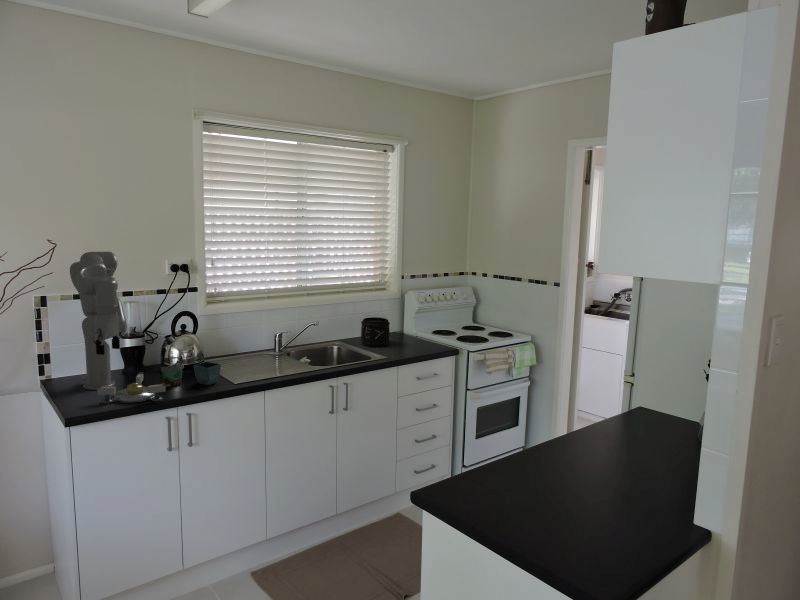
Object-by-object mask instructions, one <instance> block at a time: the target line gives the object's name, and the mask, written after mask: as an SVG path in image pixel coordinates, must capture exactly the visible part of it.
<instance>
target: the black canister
mask: <svg viewBox="0 0 800 600" xmlns="http://www.w3.org/2000/svg"><path fill="white" fill-rule="evenodd" d="M360 323H361V329H360V337H361V338H360V342H361V344H362V345H363V346H364V347H366V348H367V347H368V348H384V347H387V346H389V343H390V331H391V330H390V324H391V322H390V321H389V319H387V318H385V317H378V316H377V317H374V316H373V317H365V318H363V319H362V321H361V322H360Z"/></svg>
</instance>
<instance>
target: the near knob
mask: <svg viewBox="0 0 800 600" xmlns="http://www.w3.org/2000/svg"><path fill="white" fill-rule="evenodd" d="M97 389H98V390H97V395H98V396H99V395H100V396H101V395H102V396H103V395H104V399H105V400H109V398H110V395H113V396H114V394H116V392H117V387H116V386H112V387H102V386H98V388H97Z"/></svg>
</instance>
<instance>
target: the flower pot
mask: <svg viewBox="0 0 800 600" xmlns="http://www.w3.org/2000/svg"><path fill="white" fill-rule="evenodd" d="M221 367H222V363H218V362H212V361H204V362H203V361H202V362H201V363H198V364H195V365H193V371H194V375H195V378H196V381H197V382H198V383H199V384H200V385H205V386H210V385H213V384H215V383H216V382H217V381H218V379H219V377H220V374H221Z"/></svg>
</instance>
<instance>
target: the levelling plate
mask: <svg viewBox="0 0 800 600" xmlns="http://www.w3.org/2000/svg"><path fill="white" fill-rule="evenodd" d="M146 400H148V401H151V400H152V401H155V402H154V403H159V402H158V401H160V402H162V400H163V401H164V397H163V396H161V395H159V398H155V393H150V394H149V393H148V386H145V385H143V383H142V384H138V383H136V382H132V383H130V384H128V385H127V386H126V388H124V389H120V390H116V394H114V395H113V397H112V398H111V397H109V400H105V398H102V399H101V400H100V404H102V405H110V404H113V403H119V402H120V404H135V403H134V402H140V403H144V402H143V401H145V402H147V401H146ZM152 401H151V402H152Z"/></svg>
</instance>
